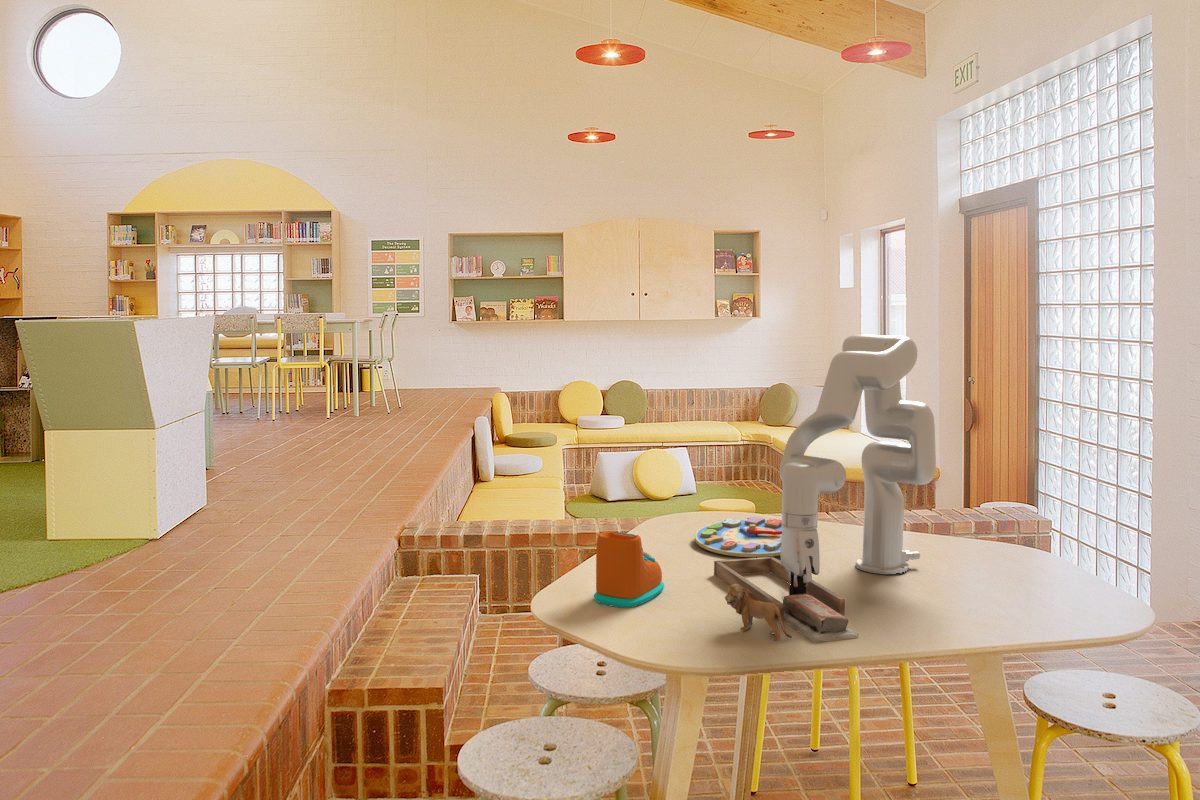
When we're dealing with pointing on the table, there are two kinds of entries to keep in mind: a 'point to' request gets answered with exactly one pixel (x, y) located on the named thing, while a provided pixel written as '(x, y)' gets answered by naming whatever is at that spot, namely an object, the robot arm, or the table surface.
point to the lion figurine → (754, 609)
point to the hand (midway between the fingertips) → (797, 603)
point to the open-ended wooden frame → (734, 568)
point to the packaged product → (815, 619)
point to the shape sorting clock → (742, 537)
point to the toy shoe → (625, 571)
